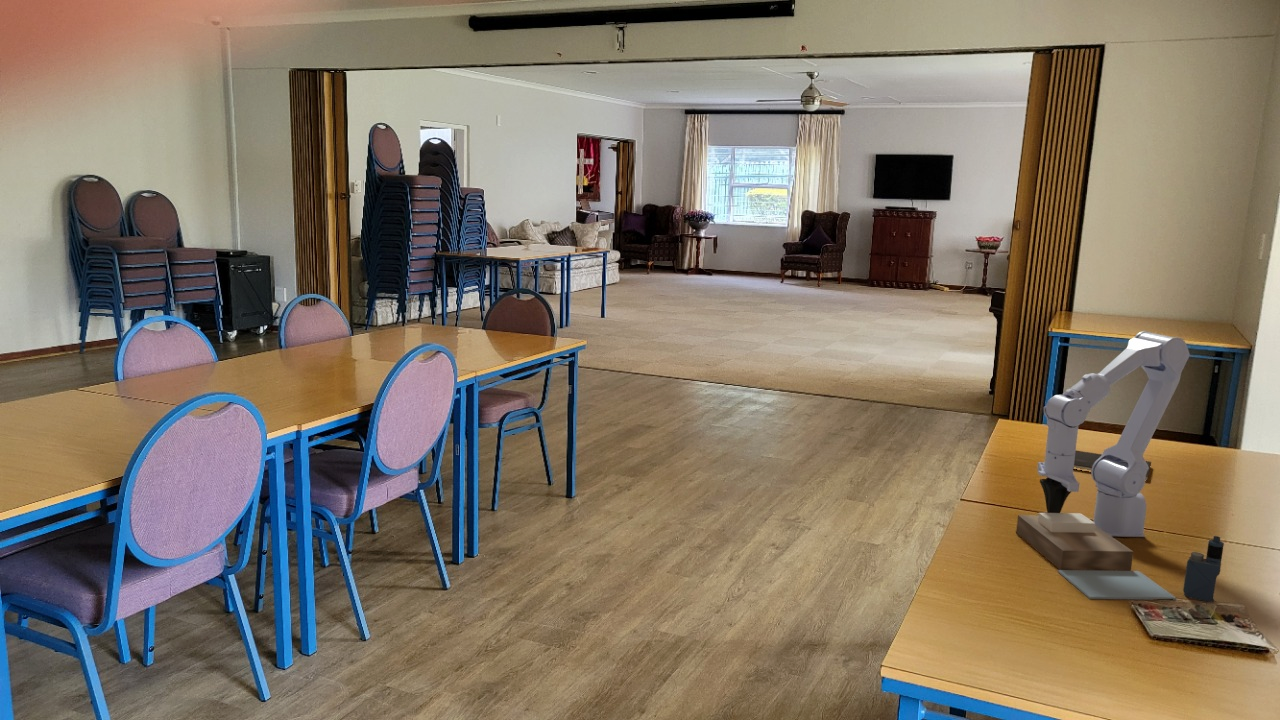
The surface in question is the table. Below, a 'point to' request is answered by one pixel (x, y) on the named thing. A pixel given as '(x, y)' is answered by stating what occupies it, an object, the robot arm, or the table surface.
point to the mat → (1115, 584)
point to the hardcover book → (1093, 460)
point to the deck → (1075, 547)
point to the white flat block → (1066, 522)
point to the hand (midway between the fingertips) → (1053, 513)
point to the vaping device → (1203, 572)
